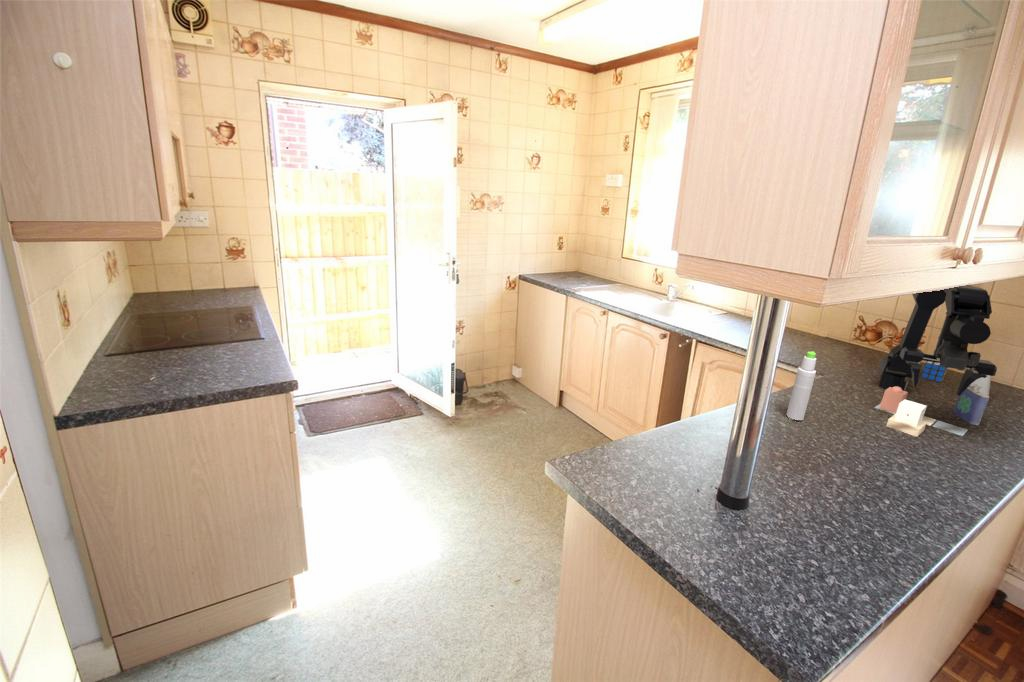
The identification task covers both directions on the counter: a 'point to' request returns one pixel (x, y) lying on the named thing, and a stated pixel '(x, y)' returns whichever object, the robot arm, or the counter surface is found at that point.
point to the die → (910, 412)
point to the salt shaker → (983, 384)
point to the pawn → (893, 398)
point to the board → (938, 424)
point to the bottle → (802, 387)
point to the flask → (971, 404)
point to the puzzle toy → (934, 371)
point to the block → (906, 426)
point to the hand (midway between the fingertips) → (935, 391)
